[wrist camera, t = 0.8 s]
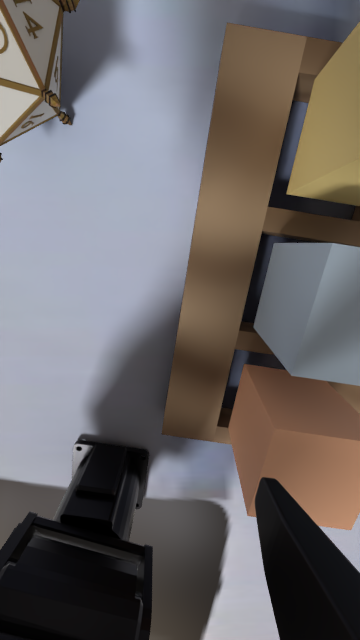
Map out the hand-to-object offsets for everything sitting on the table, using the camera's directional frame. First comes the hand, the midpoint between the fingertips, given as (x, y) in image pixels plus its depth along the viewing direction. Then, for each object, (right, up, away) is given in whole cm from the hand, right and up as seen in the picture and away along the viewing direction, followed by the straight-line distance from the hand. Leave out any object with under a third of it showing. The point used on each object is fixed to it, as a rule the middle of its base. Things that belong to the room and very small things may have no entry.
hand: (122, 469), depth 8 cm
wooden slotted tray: (+9, +7, +11) cm, 16 cm away
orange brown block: (+8, -1, +10) cm, 13 cm away
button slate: (+9, +6, +8) cm, 13 cm away
